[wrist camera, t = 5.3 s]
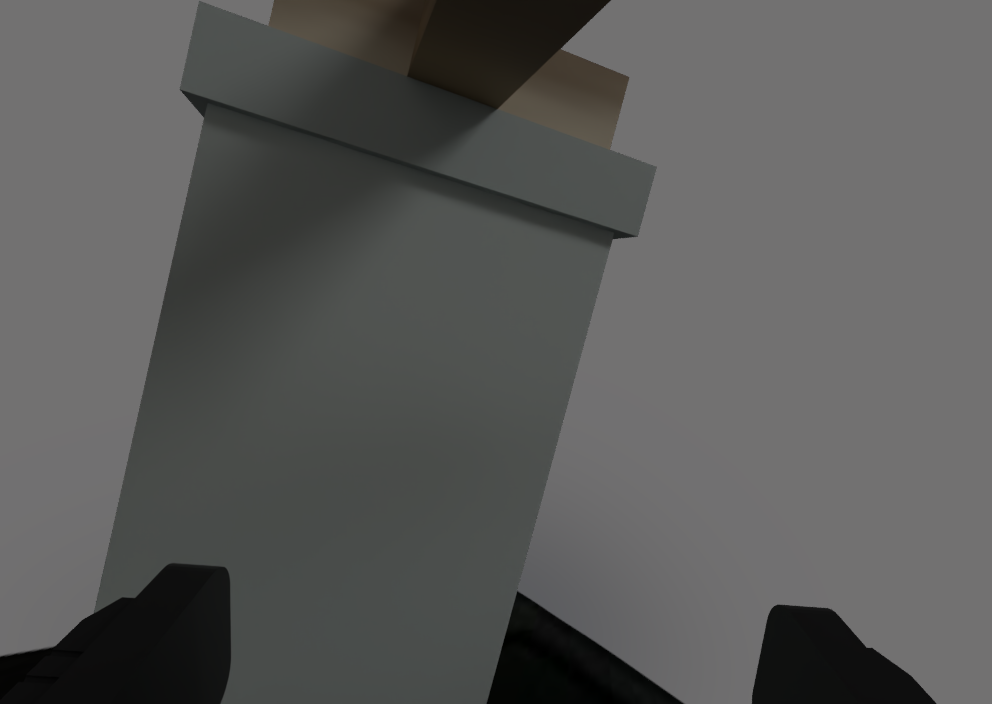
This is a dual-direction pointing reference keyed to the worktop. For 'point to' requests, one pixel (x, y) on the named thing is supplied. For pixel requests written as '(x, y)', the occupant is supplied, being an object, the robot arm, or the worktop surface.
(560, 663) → the worktop surface
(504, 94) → the paddle
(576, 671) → the worktop surface
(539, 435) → the tall grey lidded box
